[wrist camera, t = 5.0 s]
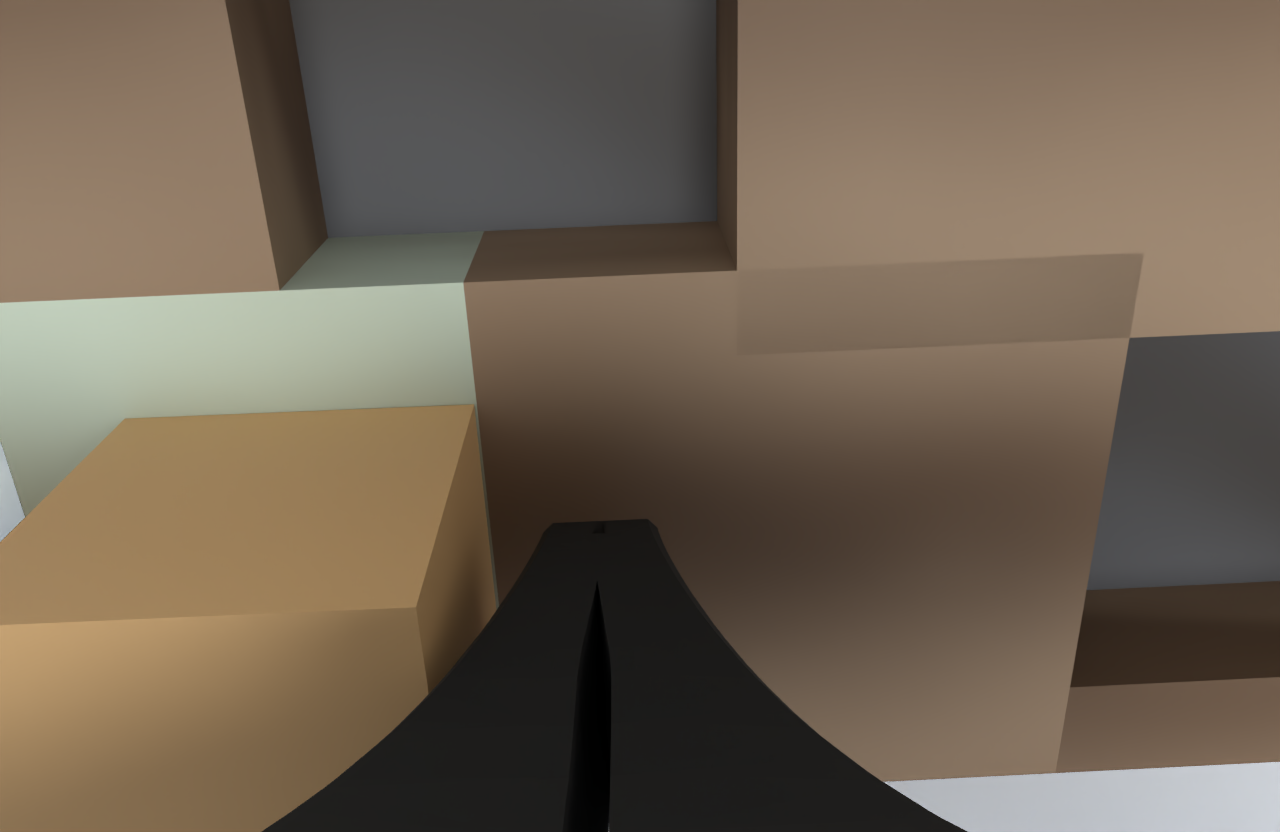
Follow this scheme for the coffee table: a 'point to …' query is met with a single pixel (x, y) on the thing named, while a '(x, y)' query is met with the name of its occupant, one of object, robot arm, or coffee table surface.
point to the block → (233, 613)
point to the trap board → (726, 316)
